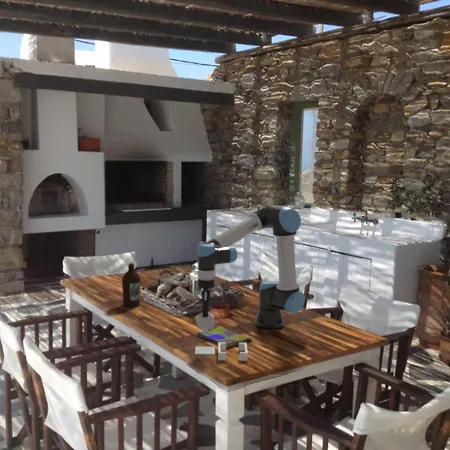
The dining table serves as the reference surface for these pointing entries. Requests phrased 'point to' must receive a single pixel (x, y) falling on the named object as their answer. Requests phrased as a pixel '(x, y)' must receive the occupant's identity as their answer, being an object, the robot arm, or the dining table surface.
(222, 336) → the dish towel
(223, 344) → the pocket
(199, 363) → the dining table surface
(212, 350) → the mat
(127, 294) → the olive oil
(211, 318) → the die
